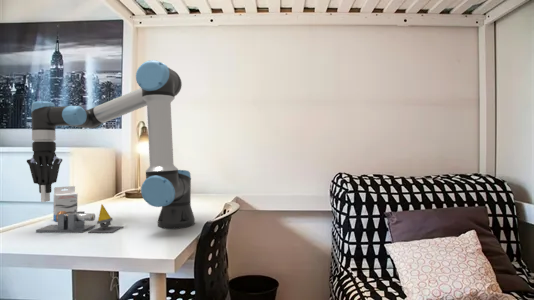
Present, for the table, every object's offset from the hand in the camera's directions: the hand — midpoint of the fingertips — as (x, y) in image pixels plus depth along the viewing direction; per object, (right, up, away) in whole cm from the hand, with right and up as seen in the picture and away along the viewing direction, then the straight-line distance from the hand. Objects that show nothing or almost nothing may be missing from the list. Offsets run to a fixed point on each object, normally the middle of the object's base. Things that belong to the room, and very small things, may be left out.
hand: (45, 201), depth 120 cm
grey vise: (+8, -11, 0) cm, 14 cm away
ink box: (-4, -12, +18) cm, 22 cm away
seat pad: (+24, -11, -1) cm, 27 cm away
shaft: (+12, -8, 0) cm, 15 cm away
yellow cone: (+24, -11, -1) cm, 27 cm away
